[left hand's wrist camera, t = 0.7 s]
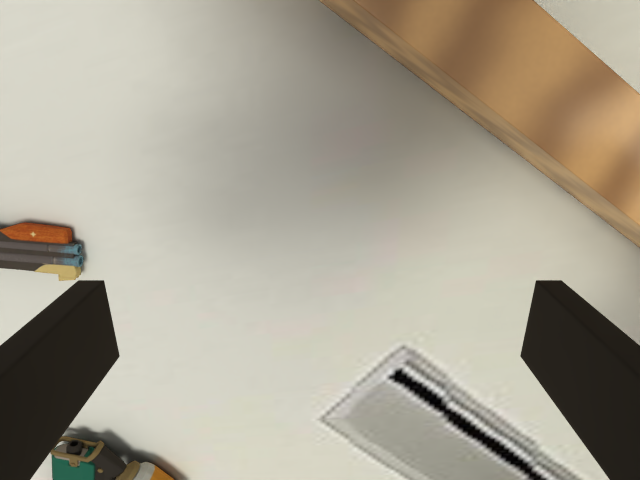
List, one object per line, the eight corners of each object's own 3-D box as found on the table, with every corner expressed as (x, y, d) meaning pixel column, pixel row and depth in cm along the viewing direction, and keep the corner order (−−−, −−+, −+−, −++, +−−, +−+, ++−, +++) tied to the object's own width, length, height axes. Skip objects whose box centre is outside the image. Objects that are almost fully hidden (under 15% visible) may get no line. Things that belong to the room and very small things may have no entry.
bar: (209, -84, 27) (173, -142, 20) (253, -173, 25) (229, -269, 18) (692, 288, 37) (780, 336, 30) (745, 240, 35) (850, 279, 28)
